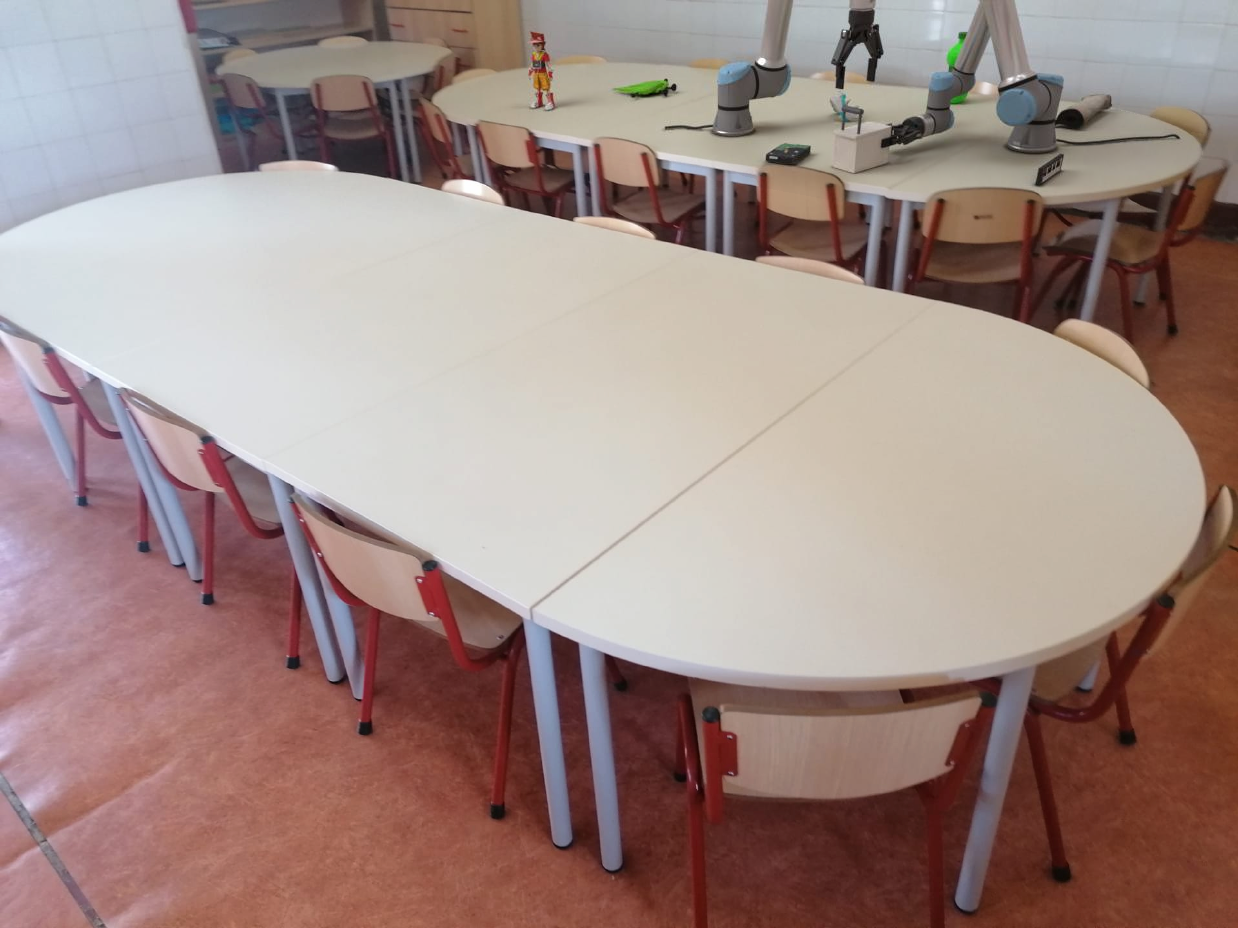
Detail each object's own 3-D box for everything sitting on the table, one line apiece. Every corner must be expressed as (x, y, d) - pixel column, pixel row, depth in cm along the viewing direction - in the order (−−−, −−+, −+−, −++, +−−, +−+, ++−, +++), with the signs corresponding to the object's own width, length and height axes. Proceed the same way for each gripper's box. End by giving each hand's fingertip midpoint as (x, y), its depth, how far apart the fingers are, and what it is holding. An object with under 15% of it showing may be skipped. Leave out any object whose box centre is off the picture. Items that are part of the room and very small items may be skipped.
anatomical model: (825, 90, 346) (850, 83, 345) (827, 117, 352) (853, 110, 351) (835, 99, 333) (862, 92, 333) (838, 127, 339) (864, 120, 338)
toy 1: (525, 109, 381) (517, 32, 364) (534, 104, 388) (527, 28, 371) (550, 110, 377) (543, 32, 360) (559, 105, 384) (553, 28, 367)
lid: (855, 139, 282) (858, 111, 277) (833, 134, 289) (835, 106, 284) (891, 129, 289) (894, 101, 284) (869, 124, 296) (872, 97, 291)
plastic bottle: (973, 101, 354) (984, 32, 339) (955, 106, 349) (966, 36, 335) (952, 97, 361) (962, 29, 346) (934, 102, 356) (944, 33, 342)
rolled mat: (1079, 99, 336) (1104, 81, 328) (1092, 119, 337) (1117, 102, 329) (1048, 120, 319) (1073, 103, 311) (1062, 142, 319) (1088, 125, 311)
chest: (853, 173, 288) (857, 139, 282) (832, 167, 295) (835, 133, 289) (887, 163, 295) (891, 129, 289) (866, 157, 302) (869, 124, 296)
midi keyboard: (1039, 185, 269) (1043, 168, 266) (1035, 184, 270) (1038, 168, 267) (1060, 170, 279) (1064, 154, 277) (1056, 169, 280) (1060, 153, 277)
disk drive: (793, 166, 298) (810, 153, 308) (794, 157, 296) (811, 145, 306) (765, 162, 303) (782, 150, 313) (765, 154, 301) (783, 142, 311)
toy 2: (686, 85, 398) (631, 84, 414) (685, 72, 395) (629, 72, 411) (651, 104, 381) (596, 103, 397) (650, 92, 378) (594, 91, 394)
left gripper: (841, 16, 258) (835, 94, 270) (900, 4, 269) (892, 80, 281) (822, 13, 263) (817, 90, 275) (881, 2, 274) (874, 76, 286)
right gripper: (941, 145, 297) (895, 159, 287) (890, 133, 312) (844, 145, 302) (945, 122, 293) (898, 135, 283) (892, 110, 308) (846, 122, 298)
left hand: (855, 85), depth 278 cm, fingers open, 13 cm apart
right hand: (870, 140), depth 293 cm, fingers closed on chest, 9 cm apart
